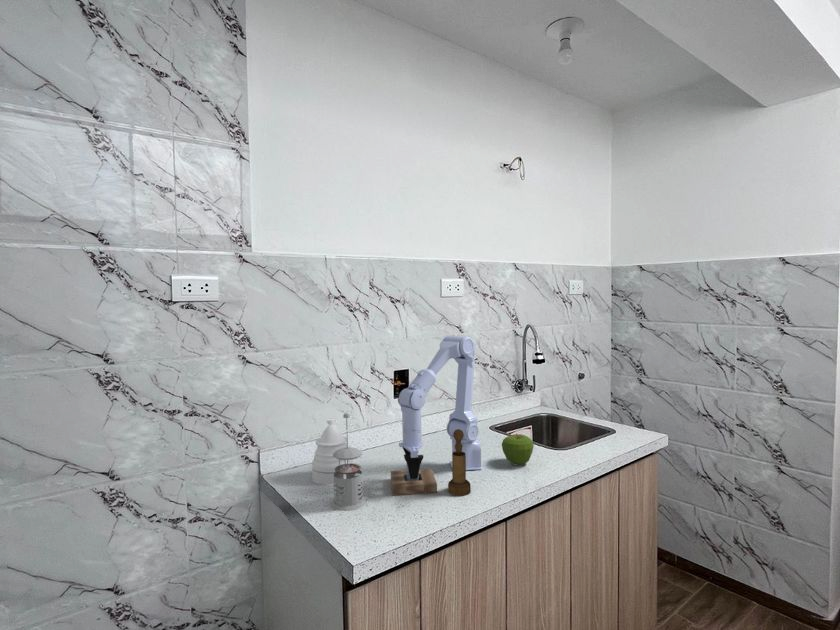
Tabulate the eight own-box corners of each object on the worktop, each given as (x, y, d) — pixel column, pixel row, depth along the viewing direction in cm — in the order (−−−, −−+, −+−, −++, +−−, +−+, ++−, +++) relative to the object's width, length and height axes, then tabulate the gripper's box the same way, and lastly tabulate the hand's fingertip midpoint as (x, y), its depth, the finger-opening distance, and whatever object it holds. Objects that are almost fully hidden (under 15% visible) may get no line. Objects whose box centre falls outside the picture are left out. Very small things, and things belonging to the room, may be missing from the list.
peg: (418, 482, 133) (417, 456, 132) (419, 487, 129) (418, 461, 129) (406, 483, 132) (406, 457, 132) (407, 488, 129) (406, 461, 129)
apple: (520, 456, 154) (520, 428, 154) (540, 465, 145) (540, 435, 145) (495, 461, 150) (495, 432, 149) (515, 471, 140) (514, 440, 140)
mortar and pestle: (464, 498, 122) (463, 434, 121) (444, 493, 125) (442, 431, 125) (474, 489, 127) (473, 428, 127) (454, 484, 131) (453, 425, 130)
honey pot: (310, 472, 143) (309, 418, 143) (349, 466, 147) (347, 414, 147) (314, 487, 131) (313, 428, 131) (356, 480, 135) (355, 423, 135)
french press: (334, 513, 114) (332, 419, 113) (326, 496, 124) (324, 410, 124) (370, 506, 117) (368, 414, 117) (359, 490, 128) (357, 406, 128)
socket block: (431, 476, 137) (431, 468, 137) (437, 492, 125) (436, 484, 125) (390, 479, 136) (390, 471, 136) (392, 495, 124) (392, 486, 124)
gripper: (397, 422, 137) (398, 465, 137) (400, 436, 123) (400, 483, 123) (419, 421, 138) (420, 464, 138) (424, 435, 123) (425, 482, 124)
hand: (412, 473), depth 131 cm, fingers open, 7 cm apart
